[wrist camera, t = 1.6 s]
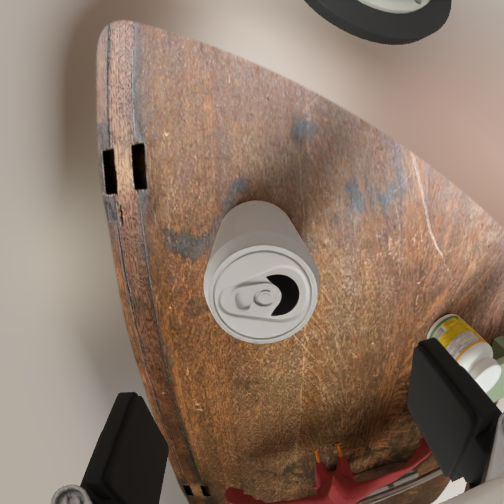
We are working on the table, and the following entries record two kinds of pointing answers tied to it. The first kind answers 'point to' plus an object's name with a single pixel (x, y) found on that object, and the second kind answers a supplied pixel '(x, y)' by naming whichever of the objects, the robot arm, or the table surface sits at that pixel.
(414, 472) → the light fixture
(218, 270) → the beverage can
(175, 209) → the table surface
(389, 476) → the decorative bird sculpture
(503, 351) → the shelf
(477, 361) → the supplement bottle
